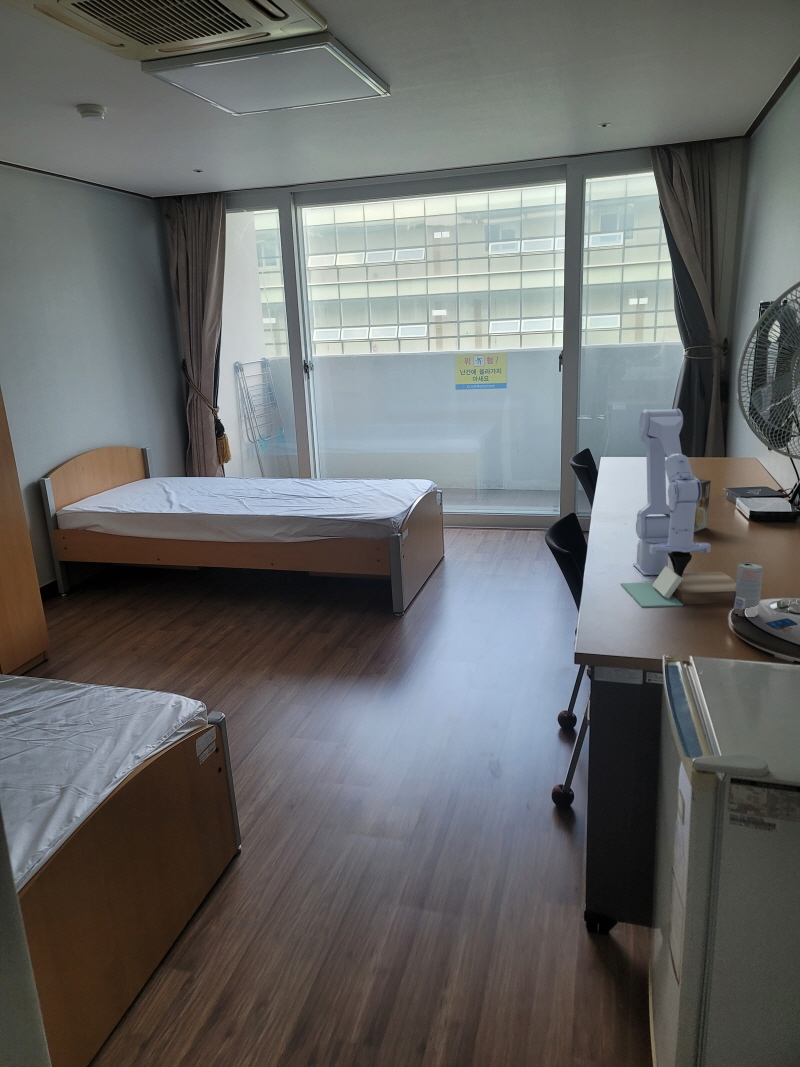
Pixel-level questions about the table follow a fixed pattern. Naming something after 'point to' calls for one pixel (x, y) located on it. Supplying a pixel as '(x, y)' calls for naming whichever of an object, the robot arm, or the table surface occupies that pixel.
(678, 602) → the teal mat
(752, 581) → the energy drink
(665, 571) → the cream tile
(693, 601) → the block
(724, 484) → the table surface
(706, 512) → the coffee box
